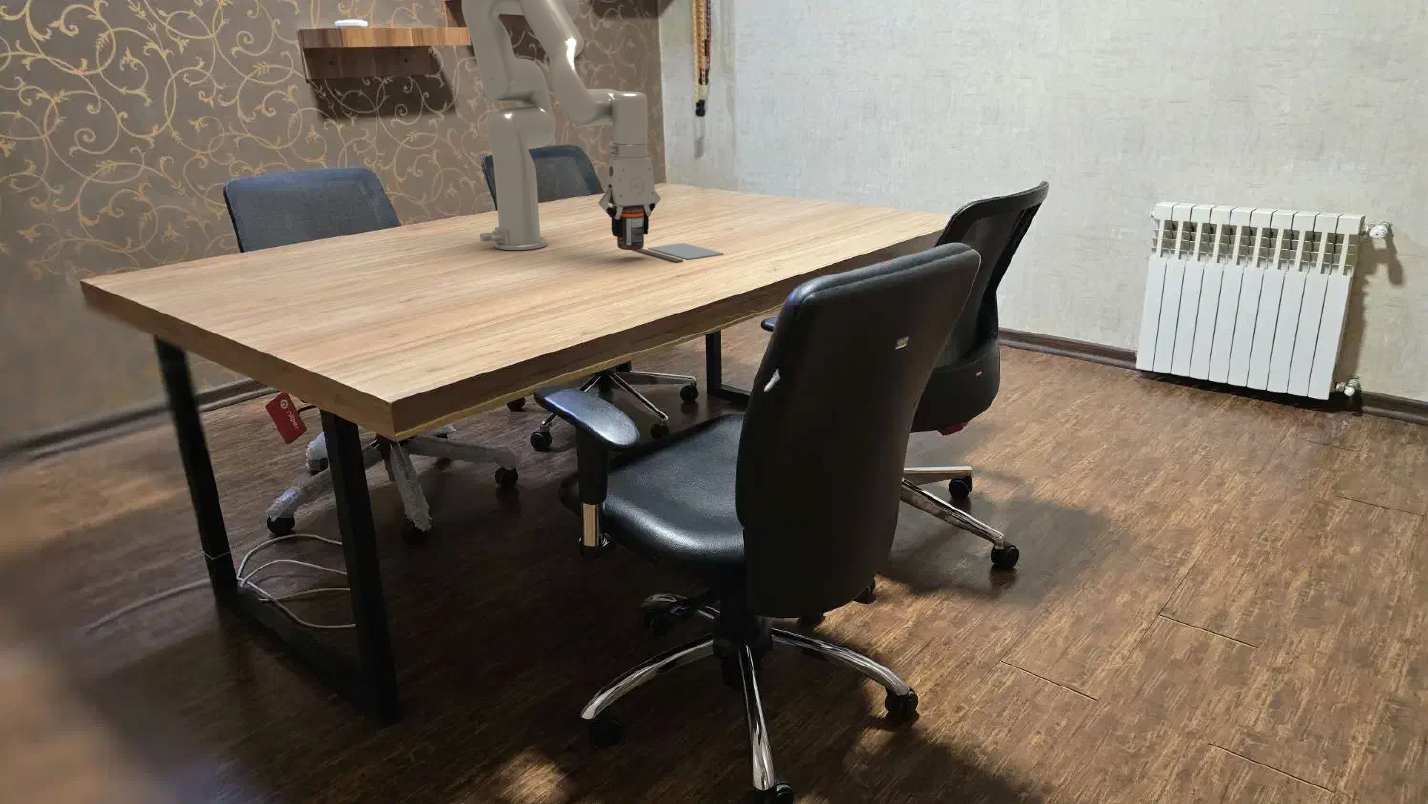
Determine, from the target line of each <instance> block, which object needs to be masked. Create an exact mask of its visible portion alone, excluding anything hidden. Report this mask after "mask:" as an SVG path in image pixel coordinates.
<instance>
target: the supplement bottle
mask: <svg viewBox="0 0 1428 804" xmlns="http://www.w3.org/2000/svg"><path fill="white" fill-rule="evenodd" d="M620 219H622V221H623V236H622V237H620V238H619V237H616V243H617V245H616V246H617V248H618V249H620V250H623V251H632V250H639V249H644V243H645V242H644V241H645V234H644V210H643V208H642V207H641V206H629V207H623V210H622V213H621V216H620Z"/></svg>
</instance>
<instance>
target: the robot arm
mask: <svg viewBox="0 0 1428 804" xmlns="http://www.w3.org/2000/svg"><path fill="white" fill-rule="evenodd" d="M579 3H580V2H579V0H461V11H462V15H463V20H464V23H465V25H466V28H467V31H468V33H469V35H470V39H471V44H472V46H473V52H474V56H475V60H476V65H477V68H478V69H477V70H478V72H479V76H480V81H481V84H482V88H483V91H484V94H485V96H486V97H487V98H488V99H489V100H490V101H492V102H495V103H516V107H515V106H514V107H506V108H501V109H499V110H497V111H494V113H492V114H491V116H489V119H488V121H487V124H486V136H487V139H488V141H487V142H488V144H489V146H490V152H491V156H492V162H493V171H494V172H493V173H494V181H495V184H494V185H495V194H496V206H497V208H496V209H497V220H498V226H497V227H496V226H495V227H494V230H492V231H491V232H482V233H480V234H479V239H480V242H489V241H490V242H493V248H495V249H497V250H498V249H499V250H504V251H527V250H535V249H536V250H537V249H541V248H544V247H547V245H548V239H546V238H545V237H544V238H543V237H541V228H540V227H541V226H540V225H541V224H540V212H539V196H538V194H539V193H538V181H537V170H536V169H537V168H536V166H535V162H534V160H533V157H532V155H531V153H530V151H529V150H534V149H540V148H544V147H546V146H548V145H550V144H551V142H552V141H553V140H554V138H555V135H556V134H555V133H556V122H555V121H556V120H555V116H554V111H553V106H552V101H551V97H550V94H549V88H548V85H547V80H546V78H545V75H544V72H543V70H542V69H541V68H540V66H539V65H538V64H537V63H535V62H534V61H533V60H532V59H531V60H530V59H527V58H517V57H516V56H515V52H514V49H513V45H512V41H511V37H510V35H509V32H508V30H507V28H506V27H505V25H504V24H503V22H502V21H501V20H500V18H499V16H500V14H501V15H510V16H511V15H514V16H515V15H516V16H524V18H525V20H526V21H527V23H528V24H529V25H528V26H530V28H531V30H532V32H533V33H534V35H535V37H536V39H537V40H538V42H539V44H540V45H541V47H542V49H543V51H544V52H545V54H546V55H547V57H548V59H549V79H550V85H551V89H552V92H553V95H554V96H555V98H556V100H557V102H558V104H559V105H560V106H561V109H562V110H563V112H564V113H565V115H566V116H567V117H568V118H569V120H571V122H573V123H574V124H575V125H577V126H579V127H582V128H583V127H585V128H587V127H596V126H608V125H611V127H612V128H611V134H612V135H611V140H612V143H611V147H610V146H609V147H608V148H607V153H608V154H609V155H610V154H611V156H612V157H611V158H610V159H609V163H608V169H607V176H606V192H605V193H604V194H603V196H602V197H601V198H600V200H599V201H598V205H599V206H600V208H602V209H603V211H604V212H605V213H606V214H607V215H608V217H609V218H611V233H612V236H613V237H616V238H617V237H619V238H620V237H622V236H623V221H622V219H620V216H621V213H622V210H623V207H629V206H641V207H642V208H643V210H644V236H645V235H646V236H647V235H648V234H649V225H650V222H649V221H650V218H649V217H650V216H651V215H652V212H653V211H654V210H655V208H656V206H657V205H658V204H659V202H660V200H661V197H660V195H659V194H658V192H657V191H656V187H655V184H656V183H655V176H654V169H653V163H652V159H651V157H648V98H647V96H646V94H645V93H644V92H639V91H622V90H621V91H620V90H615V89H611V88H591V89H587V88H586V86H585V84H584V82H583V80H581V78H580V76H579V74H578V72H577V69H576V66H575V58H576V57H577V56H578V55H579V54H580V53H581V52H582V51H583V49H584V47H585V46H584V45H585V41H584V38H583V36H582V35H581V33H580V31H579V30H578V27H577V26H576V24H575V23H574V22H575V20H576V19H577V18H578V15H579V13H580V4H579ZM610 204H611V205H610Z"/></svg>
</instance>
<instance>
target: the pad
mask: <svg viewBox="0 0 1428 804" xmlns="http://www.w3.org/2000/svg"><path fill="white" fill-rule="evenodd" d="M647 248H648V249H647V250H649V251H652V252H656V253H660V254H663V255H667V256H671V257H674V258H678V259H681V260H683V259H684V260H686V261H689V260H697V259H703V258H710V257H717V256H721V255H722V256H723V255H724V252H720V251H716V250H712V249H708V248H704V247H700V246H696V245H693V244H688V243H685V242H681V243H674V244H673V243H672V244H665V245H660V246H652V247H647Z"/></svg>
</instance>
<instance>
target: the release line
mask: <svg viewBox="0 0 1428 804" xmlns="http://www.w3.org/2000/svg"><path fill="white" fill-rule="evenodd" d="M631 251H632V252H636V253H640V254H643V255H646V256H649V257H650V256H651V257H653V258H656V259H661V260H664V261H667V262H670V263H675V264H678V263H683V262H684V260H683V259H682V258H679V257H675V256H671V255H668V254H664V253H660V252H657V251H653V250H650V249H644V248H641V249H639V250H631Z"/></svg>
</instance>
